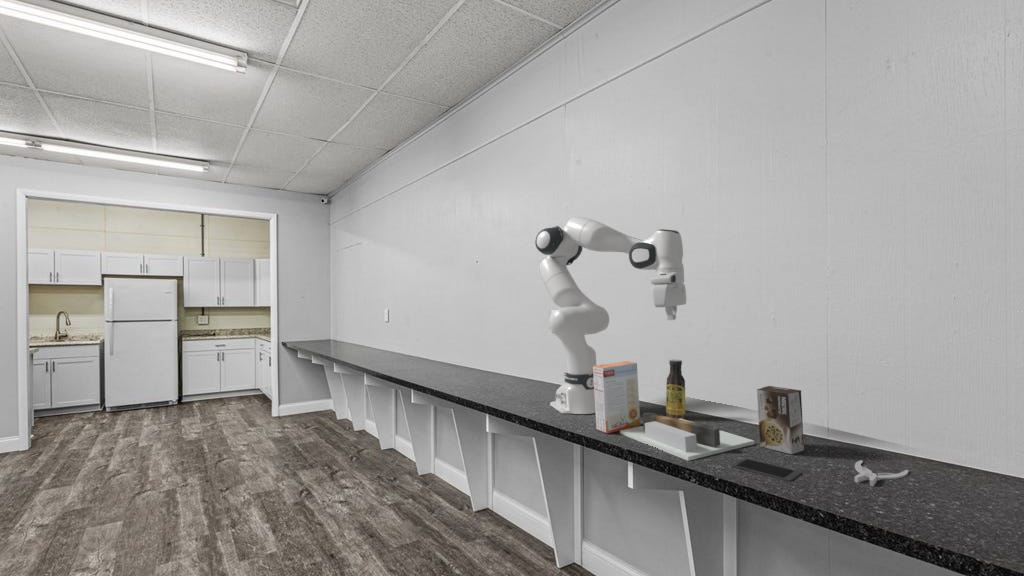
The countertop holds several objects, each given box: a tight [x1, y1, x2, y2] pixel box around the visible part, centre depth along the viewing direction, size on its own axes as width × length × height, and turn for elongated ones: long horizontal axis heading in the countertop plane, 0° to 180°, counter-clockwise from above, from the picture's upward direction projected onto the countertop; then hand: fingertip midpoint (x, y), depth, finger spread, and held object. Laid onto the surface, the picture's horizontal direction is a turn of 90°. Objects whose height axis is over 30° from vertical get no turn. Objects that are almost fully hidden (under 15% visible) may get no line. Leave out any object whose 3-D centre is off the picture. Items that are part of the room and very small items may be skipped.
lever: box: [642, 412, 720, 447], centre depth 142 cm, size 24×4×4 cm, turn 36°
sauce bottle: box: [665, 359, 686, 419], centre depth 166 cm, size 6×6×20 cm
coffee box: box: [756, 385, 805, 455], centre depth 132 cm, size 9×6×16 cm
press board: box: [619, 418, 755, 462], centre depth 143 cm, size 28×25×5 cm
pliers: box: [854, 459, 909, 487], centre depth 112 cm, size 10×2×15 cm
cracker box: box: [593, 361, 641, 434], centre depth 156 cm, size 14×6×21 cm, turn 117°
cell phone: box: [731, 457, 803, 483], centre depth 117 cm, size 7×14×1 cm, turn 40°
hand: (671, 319), depth 159 cm, fingers closed
